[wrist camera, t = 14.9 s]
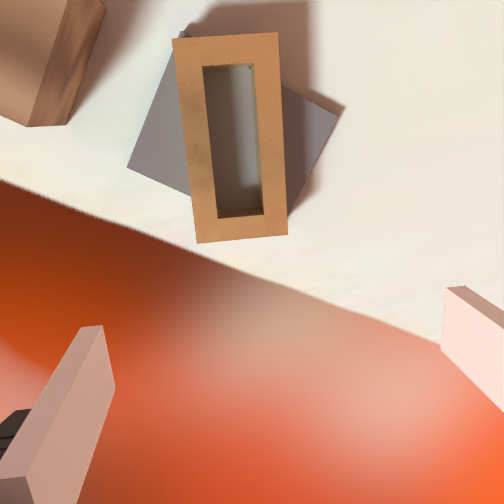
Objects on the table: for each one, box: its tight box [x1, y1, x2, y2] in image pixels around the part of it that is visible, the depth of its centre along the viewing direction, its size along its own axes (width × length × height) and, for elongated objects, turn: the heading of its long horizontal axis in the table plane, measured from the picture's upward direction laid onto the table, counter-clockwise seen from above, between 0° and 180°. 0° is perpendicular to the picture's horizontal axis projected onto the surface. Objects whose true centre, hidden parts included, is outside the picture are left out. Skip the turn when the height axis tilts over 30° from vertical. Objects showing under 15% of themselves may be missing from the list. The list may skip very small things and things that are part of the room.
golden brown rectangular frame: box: [172, 32, 288, 244], centre depth 35 cm, size 8×16×3 cm, turn 4°
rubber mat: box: [127, 31, 338, 216], centre depth 36 cm, size 12×15×1 cm
